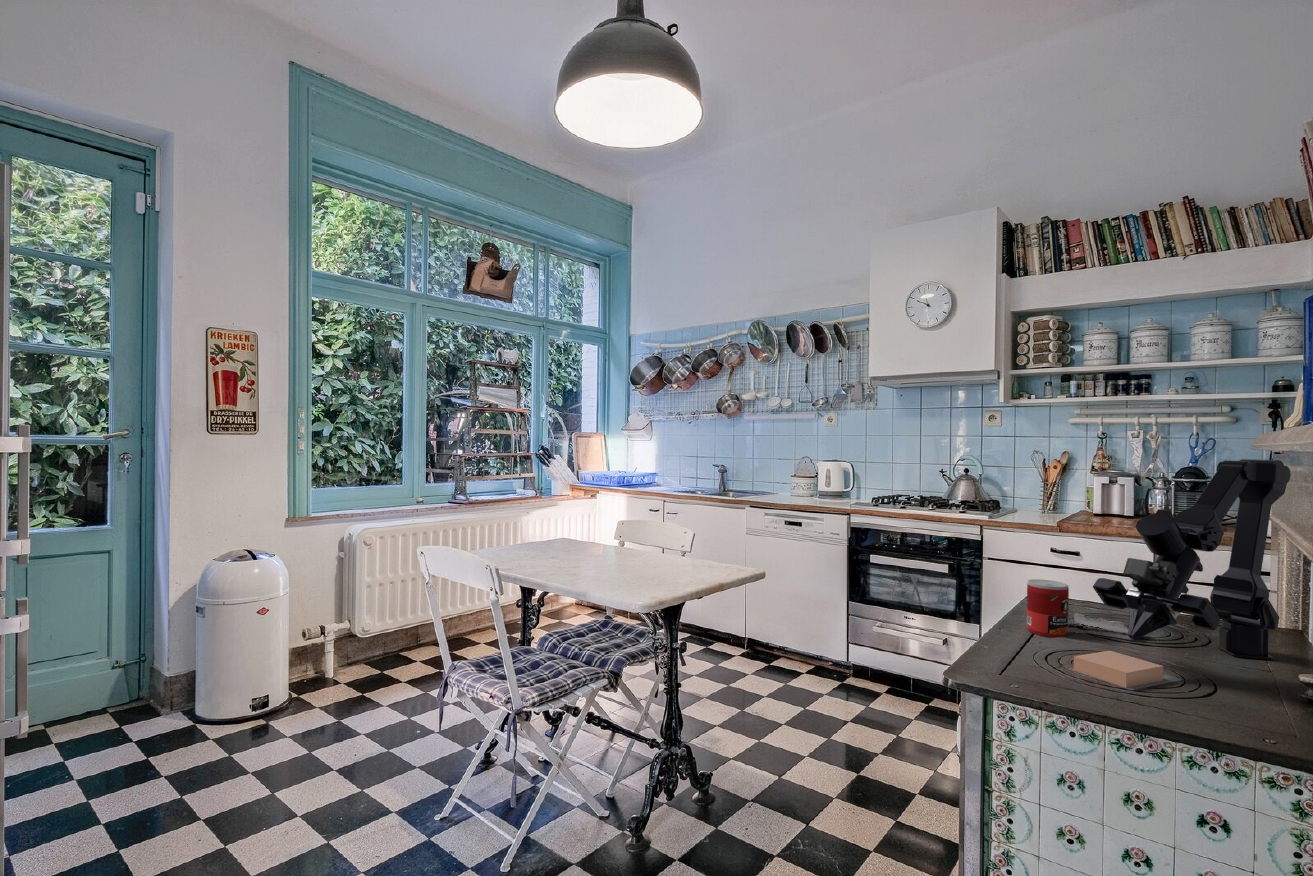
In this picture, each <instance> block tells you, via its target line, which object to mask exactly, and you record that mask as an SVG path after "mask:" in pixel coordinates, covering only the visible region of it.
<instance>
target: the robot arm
mask: <svg viewBox="0 0 1313 876" xmlns="http://www.w3.org/2000/svg"><path fill="white" fill-rule="evenodd" d="M1291 475H1292V474H1291V469H1290V467H1289V466H1288V465H1285V464H1284V462H1283V461H1282V460H1278V459H1251V458H1250V459H1247V458H1242V459H1240V460H1231V459H1230V460H1227V459H1226V460H1223V461H1219V462H1218V463H1217V466H1216V471H1215V473H1214V475H1213V477H1211V479H1210V481H1208V483H1207V485H1206V487H1205V488H1204V490H1203V491H1202V492H1201V494H1200V495H1199V496H1198V499H1197V500H1196V501H1195V503H1194V504H1193V505H1192V506H1191V507H1189V508H1187V509H1184V510H1182V511H1179V512H1178V513H1177V514H1176V515H1175V516H1174V515H1173V513H1172V511H1171V510H1169V509H1160V508H1159V509H1157V510H1156V512H1155V513H1150V514H1147V515H1145V516H1143V517H1142V518H1141V519H1138V520H1137V521H1136V524H1135V530H1136V531H1137V532H1138V534H1139V536H1140V537H1141V540H1143V542H1144V544H1145V545H1146V546H1147V549H1148V550H1149V552H1151V553H1152V554H1153V555H1156V556H1157V557H1156V559H1155V560H1154V561H1150V560H1145V559H1139V558H1132V557H1128V558H1127V560H1126V563H1125V566H1124V569H1123V572H1122V575H1123V576H1124V577H1125V576H1127V577H1128V578H1130V579H1131V580H1132V581H1131V585H1132V586H1133V588H1130V587H1128V588H1126V587H1125V586H1124V584H1123V583H1122V581H1120V580H1115V579H1112V578H1111V579H1110V578H1104V577H1099V578H1098V579H1097V580H1095V582H1094V584H1093V585H1092V588H1093V590H1094V591H1095V593H1096V594H1097V596H1098V597H1099V598H1100V600H1101V602H1102V603H1103V604H1104V605H1105V606H1107V607H1109V608H1114V609H1119V610H1124V609H1125V610H1126V609H1127V608H1128V610H1129V611H1128V613H1129V614H1128V615H1129V618H1128V620H1129V621H1128V628H1129V629H1128V636H1129V638H1130V639H1133V640H1134V641H1136V640H1139V639H1140V638H1142V637H1144V636H1147V635H1149V634H1151V633H1153V632H1154V631H1157V630H1161V629H1162V628H1165V627H1167V626H1172V625H1173V626H1176V625H1177V623H1178V621H1177V618H1178V616H1180V615H1181V614H1186V615H1191V616H1193V617H1192V619H1191V621H1192V623H1193V624H1194V626H1195V627H1196V628H1201V629H1205V630H1209V631H1216V629H1217V628H1218V626H1219V624H1220V621H1221V620H1222V621H1221V622H1222V623H1221V625H1222V626H1220V627H1219V637H1218V638H1219V643H1218V645H1216V646H1217V648H1218V649H1219V650H1221V651H1223V652H1225V653H1227V654H1229V655H1232V656H1233V657H1237V658H1247V659H1248V658H1249V659H1261V660H1269V659H1274V658H1275V657H1274V656H1271V655H1269V633H1270V632H1269V630H1273V631H1275V630H1277V629H1278V626H1279V623H1280V622H1279V620H1280V616H1279V614H1278V613H1277V611H1276V609H1275V608H1274V606H1273V603H1271V601H1270V589H1269V588H1268V587H1267V585H1266V582H1265V581H1264V579H1263V578H1262V576H1261V575H1262V569H1263V563H1264V557H1265V549H1266V543H1267V535H1268V530H1269V524H1270V518H1271V509H1272V506H1273V505H1274V503H1276V502H1277V501H1278V500H1279V499H1281V497H1282V496H1283V495H1285V492H1286V490H1287V489H1286V488H1287V485H1288V483H1289V482H1290V480H1291ZM1237 499H1239V500H1238V501H1239V502H1238V509H1237V514H1236V521H1235V526H1234V532H1233V533H1234V534H1233V538H1232V545H1231V553H1230V557H1229V565H1228V569H1227V570H1226V571H1225V572H1224V573H1223V574H1216V575H1215V577H1214V578H1213V586H1212V590H1211V592H1210V596H1209V597H1210V598H1208V597H1203V596H1198V595H1192V594H1188V593H1189V587H1188V586H1187V584H1188V582H1189V581H1190V579H1191V578H1192V575H1193V574H1194V572H1199V573H1200V572H1201V573H1202V572H1203V571H1204V566H1203V564H1202V562H1201V558H1200V557H1199V555H1198V553H1197V551H1198V552H1199V551H1200V552H1205V553H1206V552H1207V553H1209V552H1210V553H1212V552H1214V551H1215V550H1216V549H1217V548H1218V547H1219V546H1220V545H1221V543H1222V540H1223V536H1224V534H1225V533H1224V532H1225V531H1224V528H1223V526H1222V523H1223V522H1224V521H1223V520H1224V519H1225V517H1226V515H1227V514H1228V513H1229V512H1230V510H1231V508H1232V506H1233V505H1234V503H1235V502H1236V501H1237ZM1209 599H1210V600H1209ZM1133 640H1132V641H1133Z"/></svg>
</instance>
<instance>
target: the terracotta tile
mask: <svg viewBox="0 0 1313 876" xmlns="http://www.w3.org/2000/svg"><path fill="white" fill-rule="evenodd" d="M1073 668H1074V671H1073V672H1075V671H1077V672H1076V673H1078V672H1080V673H1079V674H1081V673H1083V674H1082V675H1084V674H1086V675H1085V676H1087V675H1089V676H1088V677H1090V676H1092V677H1091V678H1093V677H1095V678H1094V679H1096V678H1098V679H1097V680H1099V679H1101V680H1100V681H1102V680H1104V681H1103V682H1105V681H1107V682H1106V683H1108V682H1110V683H1109V684H1111V683H1113V684H1112V685H1114V684H1116V685H1115V686H1117V685H1119V686H1118V687H1120V686H1122V687H1121V688H1123V687H1125V688H1124V689H1126V688H1127V687H1132V686H1137V685H1142V684H1147V683H1152V682H1157V681H1162V680H1163V674H1164V666H1163V665H1161V664H1158V663H1155V662H1151V661H1147V660H1145V659H1141V658H1138V657H1133V656H1130V655H1126V654H1124V653H1121V652H1120V653H1119V652H1116V651H1113V650H1104V651H1099V652H1092V653H1086V654H1082V655H1081V654H1079V655H1074V656H1073Z"/></svg>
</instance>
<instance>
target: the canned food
mask: <svg viewBox="0 0 1313 876" xmlns="http://www.w3.org/2000/svg"><path fill="white" fill-rule="evenodd" d="M1026 585H1027V587H1026V628H1027V631H1028V632H1029V633H1030V634H1033V635H1036V636H1040V637H1044V636H1046V637H1045V638H1050V637H1052V638H1051V639H1054V638H1061V637H1067V635H1068V634H1069V633H1068V622H1069V602H1070V601H1069V600H1070V599H1069V597H1070V596H1069V595H1070V594H1069V593H1070V592H1069V590H1070V588H1069V585H1068V584H1067V583H1066V582H1065V583H1064V582H1061V581H1056V580H1051V579H1050V580H1049V579H1042V578H1041V579H1040V578H1039V579H1038V578H1037V579H1028V580H1027V583H1026Z"/></svg>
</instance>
